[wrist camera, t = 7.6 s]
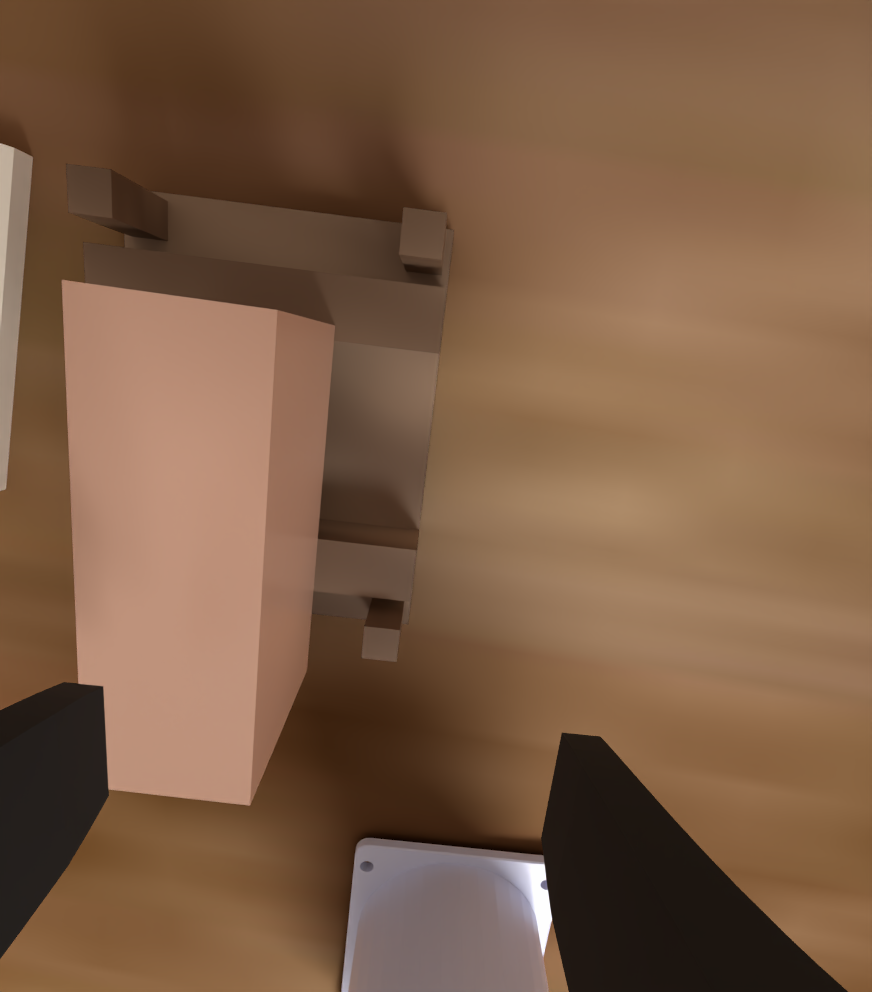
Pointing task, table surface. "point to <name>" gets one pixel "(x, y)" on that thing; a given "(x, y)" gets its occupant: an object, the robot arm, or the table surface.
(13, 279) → the fired strip
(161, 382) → the salmon pink block
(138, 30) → the table surface
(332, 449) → the rack
